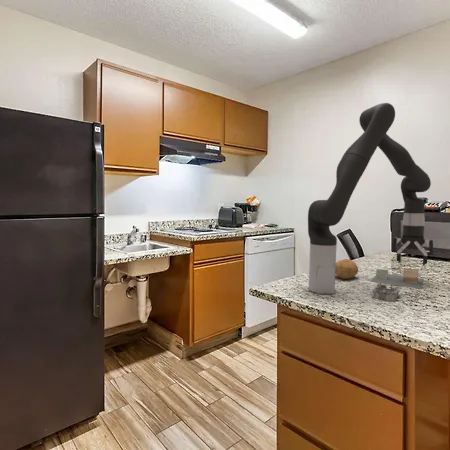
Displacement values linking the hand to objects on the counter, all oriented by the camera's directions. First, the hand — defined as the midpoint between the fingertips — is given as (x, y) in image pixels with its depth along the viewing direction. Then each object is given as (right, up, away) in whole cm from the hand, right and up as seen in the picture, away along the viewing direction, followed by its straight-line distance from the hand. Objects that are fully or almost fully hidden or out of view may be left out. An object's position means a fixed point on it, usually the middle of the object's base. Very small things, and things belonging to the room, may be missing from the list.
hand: (411, 263), depth 126 cm
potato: (-25, -7, +6) cm, 27 cm away
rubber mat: (-4, -8, +3) cm, 9 cm away
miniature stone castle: (-21, -9, -19) cm, 30 cm away
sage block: (-9, -7, +6) cm, 13 cm away
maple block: (0, -7, 0) cm, 8 cm away
